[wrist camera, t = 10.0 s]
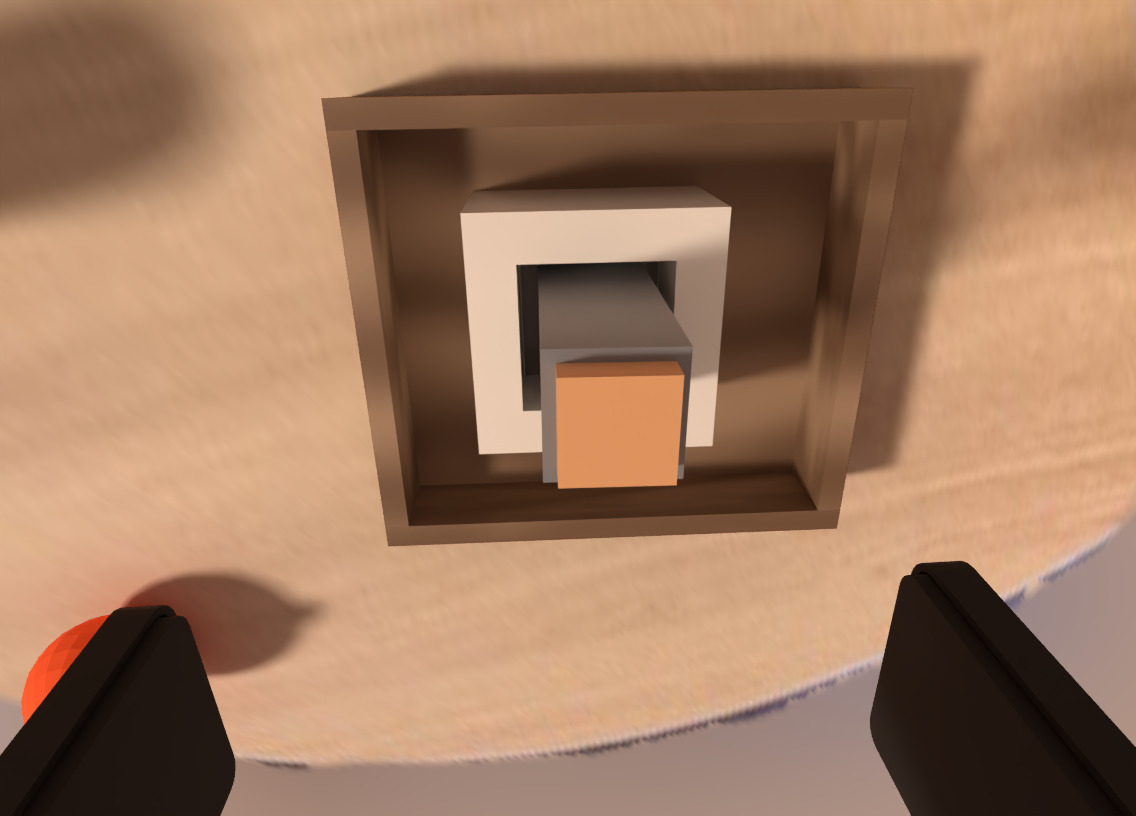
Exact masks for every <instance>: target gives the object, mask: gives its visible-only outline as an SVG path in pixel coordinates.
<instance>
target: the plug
mask: <svg viewBox="0 0 1136 816" xmlns="http://www.w3.org/2000/svg"><path fill="white" fill-rule="evenodd" d="M538 293H539V337H540V379H541V420H542V461H543V483H549V482H558V489H560V488H596V487H632V486H669V485H677V479H683V475H684V461H685V448H686V434H687V421H688V407H689V394H690V380H691V367H692V353H693V346H692V344H691V342H690V341H689V339H688V337H687V336H686V334H685V333H684V331H683V329H682V328H681V326H680V324H679V323H678V321H677V320H676V318H675V316H674V315H673V313H672V311H671V310H670V308H669V307H668V305H667V303H666V302H665V300H664V298H663V297H662V295H661V294H660V292H659V290H658V289H657V287H656V286H655V284H654V282H653V281H652V279H651V277H650V276H649V274H648V273H647V271H646V269H645V268H644V266H643V264H642V263H641V262H604V263H566V264H538Z"/></svg>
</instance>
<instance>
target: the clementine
mask: <svg viewBox="0 0 1136 816" xmlns="http://www.w3.org/2000/svg"><path fill="white" fill-rule="evenodd" d="M108 616H109V615H105V616H101V617H98V618H94V619H90V620H88V621H86V622H84V623H82V624H80V625H78V626H75V627H74V628H72V629H70V630H69V631H67V632H65V633H63V634H62V635H61V636H60V637H59V638H57V639H56V640H55V641H54V642H53V643H52V644H50V645H49V646H48V647H47V649H46V650H45V651H44V652H43V653H42V654H41V656H40V657H39V658H38V660H37V661H36V663H35V664H34V666H33V668H32V669H31V671H30V672H29V675H28V678H27V681H26V684H25V688H24V692H23V696H22V700H21V704H22V714H23V720H24V724H25V723H26V722H27V720H28V719H29V718H30V717H31V715H32V714H33V713H34V711H35V710H36V709H37V708H38V706H39V705H40V704H41V702H42V701H43V700H44V699H45V697H46V696H47V695H48V693H49V692H50V691H51V690H52V688H53V687H54V686H55V684H56V683H57V682H58V681H59V679H60V678H61V677H62V675H63V674H64V673H65V672H66V670H67V669H68V668H69V666H70V665H71V664H72V663H73V661H74V660H75V659H76V657H77V656H78V655H79V654H80V652H81V651H82V650H83V648H84V647H85V646H86V645H87V643H88V642H89V641H90V639H91V638H92V637H93V636H94V634H95V633H96V632H97V630H98V629H99V628H100V627H101V625H102V624H103V623H104V621H105V620H106V619H107V617H108Z"/></svg>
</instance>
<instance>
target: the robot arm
mask: <svg viewBox="0 0 1136 816" xmlns="http://www.w3.org/2000/svg"><path fill="white" fill-rule="evenodd" d="M870 729H871V734H872V738H873V741H874V744H875V746H876V748H877V750H878V752H879V754H880V756H881V758H882V760H883V762H884V764H885V766H886V768H887V770H888V772H889V774H890V776H891V777H892V779H893V781H894V783H895V785H896V787H897V789H898V791H899V793H900V795H901V797H902V799H903V801H904V803H905V804H906V806H907V808H908V810H909V812H910V814H911V816H1136V747H1135V746H1134V745H1133V744H1132V743H1131V741H1130V740H1129V739H1128V738H1127V737H1126V736H1125V735H1124V734H1123V733H1122V731H1121V730H1120V729H1119V728H1118V727H1117V726H1116V725H1115V724H1114V723H1113V722H1112V721H1111V719H1110V718H1109V717H1108V716H1107V715H1106V714H1105V713H1104V712H1103V710H1102V709H1101V708H1100V707H1099V706H1098V705H1097V704H1096V703H1095V702H1094V701H1093V699H1092V698H1091V697H1090V696H1089V695H1088V694H1087V693H1086V692H1085V691H1084V690H1083V688H1082V687H1081V686H1080V685H1079V684H1078V683H1077V682H1076V681H1075V680H1074V678H1073V677H1072V676H1071V675H1070V674H1069V673H1068V672H1067V671H1066V670H1065V668H1064V667H1063V666H1062V665H1061V664H1060V663H1059V662H1058V661H1057V660H1056V659H1055V657H1054V656H1053V655H1052V654H1051V653H1050V652H1049V651H1048V650H1047V649H1046V648H1045V646H1044V645H1043V644H1042V643H1041V642H1040V641H1039V640H1038V639H1037V638H1036V636H1035V635H1034V634H1033V633H1032V632H1031V631H1030V630H1029V629H1028V628H1027V627H1026V625H1025V624H1024V623H1023V622H1022V621H1021V620H1020V619H1019V618H1018V617H1017V615H1016V614H1015V613H1014V612H1013V611H1012V610H1011V609H1010V608H1009V607H1008V605H1007V604H1006V603H1005V602H1004V601H1003V600H1002V599H1001V598H1000V597H999V596H998V594H997V593H996V592H995V591H994V590H993V589H992V588H991V587H990V586H989V584H988V583H987V582H986V581H985V580H984V579H983V578H982V577H981V576H980V575H979V573H978V572H977V571H976V570H975V569H974V568H973V567H972V566H971V565H969V564H968V563H966V562H963V561H951V562H933V563H920V564H917V565H916V566H915V567H914V568H913V571H912V573H911V575H906V576H904V577H903V578H902V580H901V582H900V586H899V590H898V595H897V599H896V604H895V608H894V613H893V617H892V621H891V626H890V630H889V635H888V639H887V644H886V648H885V653H884V657H883V662H882V666H881V671H880V675H879V680H878V684H877V689H876V693H875V698H874V702H873V707H872V711H871V716H870ZM234 777H235V758H234V754H233V751H232V748H231V746H230V743H229V740H228V737H227V734H226V731H225V728H224V725H223V722H222V719H221V716H220V713H219V710H218V707H217V704H216V701H215V699H214V696H213V693H212V690H211V687H210V684H209V681H208V678H207V675H206V672H205V669H204V666H203V663H202V660H201V657H200V654H199V652H198V649H197V646H196V643H195V640H194V637H193V634H192V631H191V628H190V625H189V623H188V621H187V619H186V618H184V617H182V616H176V614H175V612H174V610H173V609H172V608H170V607H169V606H164V605H163V606H145V607H127V608H119V609H117V610H115V611H113V612H112V613H111V614H110V615H109V616H108V617H107V619H106V620H105V621H104V623H103V624H102V625H101V627H100V628H99V629H98V630H97V632H96V633H95V634H94V636H93V637H92V638H91V639H90V641H89V642H88V643H87V645H86V646H85V647H84V648H83V650H82V651H81V652H80V654H79V655H78V656H77V657H76V659H75V660H74V661H73V663H72V664H71V665H70V666H69V668H68V669H67V670H66V672H65V673H64V674H63V675H62V677H61V678H60V679H59V681H58V682H57V683H56V684H55V686H54V687H53V688H52V690H51V691H50V692H49V693H48V695H47V696H46V697H45V699H44V700H43V701H42V702H41V704H40V705H39V706H38V708H37V709H36V710H35V711H34V713H33V714H32V715H31V717H30V718H29V719H28V720H27V722H26V723H25V724H24V726H23V727H22V728H21V730H20V731H19V732H18V733H17V735H16V736H15V737H14V739H13V740H12V741H11V743H10V744H9V745H8V746H7V748H6V749H5V750H4V752H3V753H2V754H1V755H0V816H220V815H221V813H222V810H223V808H224V806H225V803H226V801H227V798H228V796H229V794H230V791H231V788H232V785H233V781H234Z"/></svg>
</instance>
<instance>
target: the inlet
mask: <svg viewBox="0 0 1136 816" xmlns="http://www.w3.org/2000/svg"><path fill="white" fill-rule="evenodd" d="M460 216H461V229H462V241H463V254H464V267H465V280H466V292H467V305H468V318H469V331H470V343H471V356H472V369H473V382H474V394H475V407H476V420H477V433H478V445H479V454H500V453H529V452H542V420H541V379H540V337H539V293H538V264H566V263H604V262H641V263H642V264H643V266H644V268H645V269H646V271H647V273H648V274H649V276H650V277H651V279H652V281H653V282H654V284H655V286H656V287H657V289H658V290H659V292H660V294H661V295H662V297H663V298H664V300H665V302H666V303H667V305H668V307H669V308H670V310H671V311H672V313H673V315H674V316H675V318H676V320H677V321H678V323H679V324H680V326H681V328H682V329H683V331H684V333H685V334H686V336H687V337H688V339H689V341H690V342H691V344H692V346H693V353H692V367H691V380H690V394H689V407H688V421H687V434H686V447H698V446H712V444H713V432H714V419H715V406H716V394H717V381H718V369H719V356H720V344H721V331H722V319H723V306H724V294H725V281H726V269H727V256H728V244H729V231H730V219H731V206H729V205H727V204H726V203H724V202H722V201H721V200H719V199H717V198H716V197H714V196H713V195H711V194H709V193H708V192H706V191H704V190H703V189H701V188H699V187H698V186H679V187H634V188H590V189H545V190H500V191H473V192H472V194H471V196H470V197H469V199H468V201H467V203H466V204H465V206H464V208H463V209H462V211H461V213H460Z"/></svg>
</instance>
